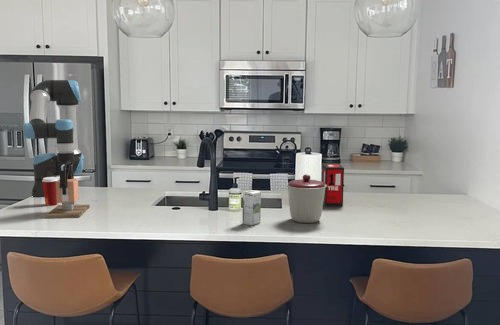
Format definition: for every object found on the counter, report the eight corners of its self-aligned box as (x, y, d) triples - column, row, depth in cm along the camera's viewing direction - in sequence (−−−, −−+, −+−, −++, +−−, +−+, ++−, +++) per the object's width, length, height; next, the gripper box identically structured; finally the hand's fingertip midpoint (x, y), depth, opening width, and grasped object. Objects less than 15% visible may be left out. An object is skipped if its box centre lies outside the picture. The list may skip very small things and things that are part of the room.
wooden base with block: (58, 207, 229) (57, 189, 228) (89, 207, 231) (88, 188, 230) (45, 218, 210) (44, 197, 208) (79, 217, 211) (78, 197, 210)
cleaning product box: (321, 199, 252) (322, 163, 249) (337, 199, 252) (338, 163, 249) (325, 206, 235) (326, 167, 233) (342, 206, 235) (344, 167, 233)
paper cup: (62, 203, 240) (60, 176, 238) (54, 206, 233) (53, 179, 231) (48, 202, 241) (46, 176, 239) (40, 206, 233) (38, 179, 231)
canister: (284, 225, 200) (285, 177, 197) (286, 214, 218) (287, 170, 215) (326, 226, 198) (327, 178, 195) (325, 216, 215) (326, 171, 212)
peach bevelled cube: (61, 199, 223) (60, 178, 222) (78, 198, 224) (77, 178, 223) (56, 202, 215) (55, 181, 214) (74, 202, 216) (73, 181, 215)
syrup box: (250, 221, 206) (250, 189, 204) (260, 223, 202) (261, 191, 200) (242, 223, 202) (242, 191, 200) (252, 226, 198) (252, 193, 196)
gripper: (63, 149, 226) (66, 195, 229) (50, 154, 206) (52, 204, 209) (79, 149, 227) (81, 194, 230) (67, 154, 206) (70, 203, 210)
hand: (67, 199), depth 219 cm, fingers closed on peach bevelled cube, 8 cm apart
